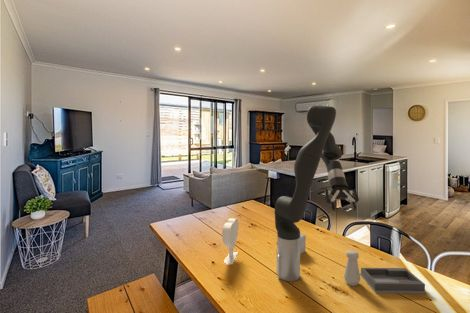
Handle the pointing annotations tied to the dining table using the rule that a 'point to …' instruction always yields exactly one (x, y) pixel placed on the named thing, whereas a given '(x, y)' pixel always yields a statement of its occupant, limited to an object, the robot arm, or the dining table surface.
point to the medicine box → (302, 243)
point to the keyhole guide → (392, 280)
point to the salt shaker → (352, 268)
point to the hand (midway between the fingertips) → (344, 210)
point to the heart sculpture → (230, 238)
